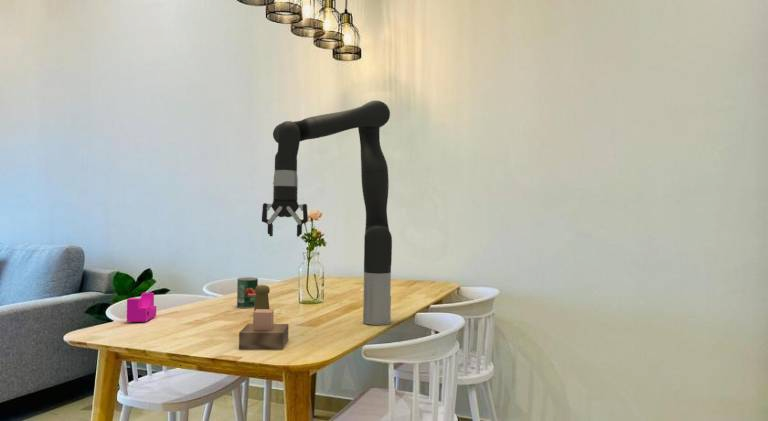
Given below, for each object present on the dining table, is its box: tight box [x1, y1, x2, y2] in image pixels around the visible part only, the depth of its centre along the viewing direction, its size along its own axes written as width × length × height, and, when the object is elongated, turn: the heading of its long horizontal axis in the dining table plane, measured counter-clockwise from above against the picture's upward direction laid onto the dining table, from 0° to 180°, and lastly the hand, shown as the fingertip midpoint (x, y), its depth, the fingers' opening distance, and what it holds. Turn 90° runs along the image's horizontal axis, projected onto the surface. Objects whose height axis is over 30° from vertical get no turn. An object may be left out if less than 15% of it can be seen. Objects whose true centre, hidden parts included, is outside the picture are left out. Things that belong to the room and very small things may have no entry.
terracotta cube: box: [252, 309, 275, 330], centre depth 159 cm, size 5×5×5 cm
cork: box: [253, 284, 271, 312], centre depth 201 cm, size 6×6×11 cm
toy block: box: [126, 292, 157, 323], centre depth 196 cm, size 15×6×8 cm, turn 3°
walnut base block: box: [238, 323, 289, 351], centre depth 159 cm, size 12×12×5 cm
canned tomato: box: [236, 277, 259, 309], centre depth 219 cm, size 8×8×11 cm
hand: (284, 236), depth 176 cm, fingers open, 8 cm apart
